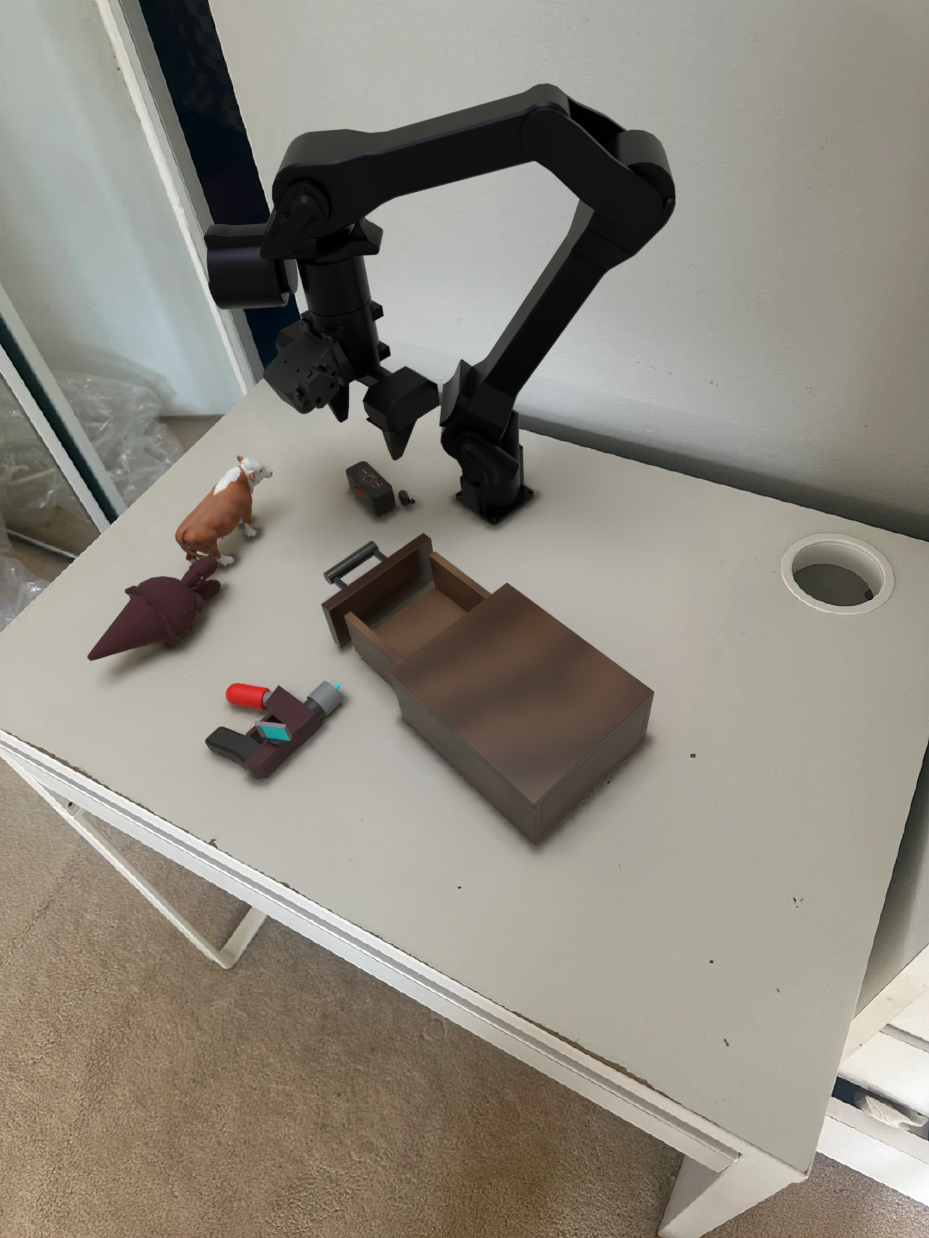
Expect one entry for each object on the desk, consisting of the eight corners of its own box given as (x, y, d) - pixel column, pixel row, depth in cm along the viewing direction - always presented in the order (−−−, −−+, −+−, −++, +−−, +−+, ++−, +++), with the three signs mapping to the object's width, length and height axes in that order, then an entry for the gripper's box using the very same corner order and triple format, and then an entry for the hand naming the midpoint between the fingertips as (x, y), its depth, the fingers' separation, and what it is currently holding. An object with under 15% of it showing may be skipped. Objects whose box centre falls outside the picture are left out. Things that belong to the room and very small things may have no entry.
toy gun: (357, 699, 73) (346, 669, 69) (259, 794, 68) (243, 767, 64) (286, 649, 77) (273, 618, 74) (190, 734, 72) (170, 706, 68)
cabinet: (402, 719, 71) (389, 672, 65) (509, 633, 76) (506, 581, 71) (534, 845, 63) (534, 804, 57) (645, 739, 68) (654, 691, 62)
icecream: (104, 666, 70) (240, 574, 77) (54, 613, 72) (191, 529, 79) (120, 701, 76) (244, 612, 83) (72, 651, 77) (198, 569, 85)
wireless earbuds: (382, 525, 87) (377, 503, 85) (348, 491, 91) (343, 470, 88) (416, 506, 89) (412, 484, 86) (382, 473, 92) (378, 452, 90)
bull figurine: (292, 509, 90) (273, 453, 83) (210, 588, 83) (182, 534, 77) (263, 497, 91) (242, 441, 85) (181, 573, 85) (151, 519, 79)
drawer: (304, 614, 79) (290, 576, 74) (399, 548, 83) (391, 508, 79) (439, 741, 69) (432, 706, 64) (539, 658, 73) (539, 619, 69)
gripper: (207, 301, 72) (256, 438, 84) (328, 382, 63) (364, 522, 75) (306, 253, 76) (339, 390, 88) (433, 321, 67) (451, 464, 79)
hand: (369, 439), depth 83 cm, fingers open, 9 cm apart
